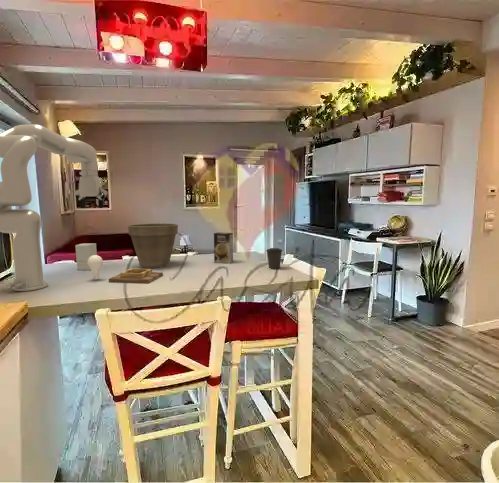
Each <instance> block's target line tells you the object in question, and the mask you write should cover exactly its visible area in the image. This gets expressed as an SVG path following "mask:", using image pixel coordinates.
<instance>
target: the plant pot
mask: <svg viewBox="0 0 499 483" xmlns="http://www.w3.org/2000/svg"><path fill="white" fill-rule="evenodd" d="M178 227H179V225H178V224H177V223H167V222H165V223H161V222H160V223H139V224H130V225H129V224H128V225H127V229H128V235H129V236H130V238H131V242H132V245H133V247H134V251H135V253H136V257H137V261H138V263H139V266H140V267H141V268H143V269H156V268H159V269H160V268H165V267H167V266H169V264H170V262H171V258H172V253H173V249H174V244H175V240H176V236H177V234H178V229H179V228H178Z"/></svg>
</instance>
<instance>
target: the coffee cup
mask: <svg viewBox="0 0 499 483" xmlns="http://www.w3.org/2000/svg"><path fill="white" fill-rule="evenodd" d="M266 252H267V253H266V254H267V255H266V256H267V263H268V269H269V268H271V269H270V270H280V268H281V261H282V252H283V249H281V248H278V247H271V248H268V249H266Z"/></svg>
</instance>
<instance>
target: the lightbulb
mask: <svg viewBox="0 0 499 483" xmlns="http://www.w3.org/2000/svg"><path fill="white" fill-rule="evenodd" d="M103 263H104V261H103V258H102V257H101V256H99V255H98V254H97V255H93V256H91V257H90V258H89V259H88V265H89V267H90V268H91V270H90V271H91V274H92V279H93V280H95V281H97V280H99V279H100V273H101V268H102V266H103Z"/></svg>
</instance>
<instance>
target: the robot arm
mask: <svg viewBox="0 0 499 483" xmlns="http://www.w3.org/2000/svg"><path fill="white" fill-rule="evenodd" d="M38 148H40V149H43V150H44V151H45V150H46V151H48V152H50V153H52V154H54V155H55V154H56V155H61V156H64V157H65V159H66V160H67V161H68V162H70V163H73V164H76V163H77V164H78V163H80V169H81V170H80V171H79V175H80V177H79V182H78V189H76V190H75V191H74V192H73V193H74V195H75V197H76V198H77V199H78V201H79V207H80V208H81V209H85V208H86V200H85V198H86V197H96V198H98V201H97V204H98V209H103V208H104V200H105V199H106V197H107V195H108V194H109V193H108V191H107V190H106V189H104V188H102V183H101V179H100V177H99V174H98V158H97V157H98V156H97V155H98V154H97V151H96V149H95V147H93V146H92V145H90V144H89V143H87V142H84V141H83V140H78V139H75V138H71V137H68V136H64V135H61V134H58V133H57V132H55V131H53V130H51V129H49V128H47V127H46V126H44V125H40V124H36V123H35V124H33V123H32V124H19V125H16V126H13V127H11V128H8V129H7V130H5V131H4V132H1V133H0V158H1V159H2V160H1V163H0V175H1V181H0V233H2V234H15V235H14V238H13V240H12V256H13V257H12V258H13V264H14V278H13V281H12V282H9V283H6V285H5V287H6V289H11V291H14V292H28V291H30V292H31V291H35V290H41V289H43V288H47V287H48V286H49V282H48V281H44V271H43V269H44V268H43V261H42V248H41V247H42V246H41V229H42V217H41V216H40V214H39V213H38V212H37V211H35V210H33V209H30V208H29V209H26V208H14V209H13V208H12V207H23V206H28V205H29V204H30V203H31V202H32V200H33V199H32V197H33V196H32V190H31V185H30V181H29V175H28V164H29V163H30V160H31V159H32V157H33V156H34V155H35V154H36V152H37V149H38Z"/></svg>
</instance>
